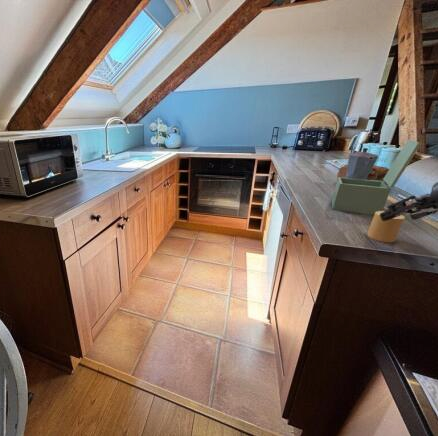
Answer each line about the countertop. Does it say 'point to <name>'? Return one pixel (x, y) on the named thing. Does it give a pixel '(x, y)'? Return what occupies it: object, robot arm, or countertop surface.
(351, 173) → the moka pot
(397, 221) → the tan cylinder
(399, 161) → the bin lid
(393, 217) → the robot arm
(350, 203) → the bin
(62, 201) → the countertop surface
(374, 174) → the bread
